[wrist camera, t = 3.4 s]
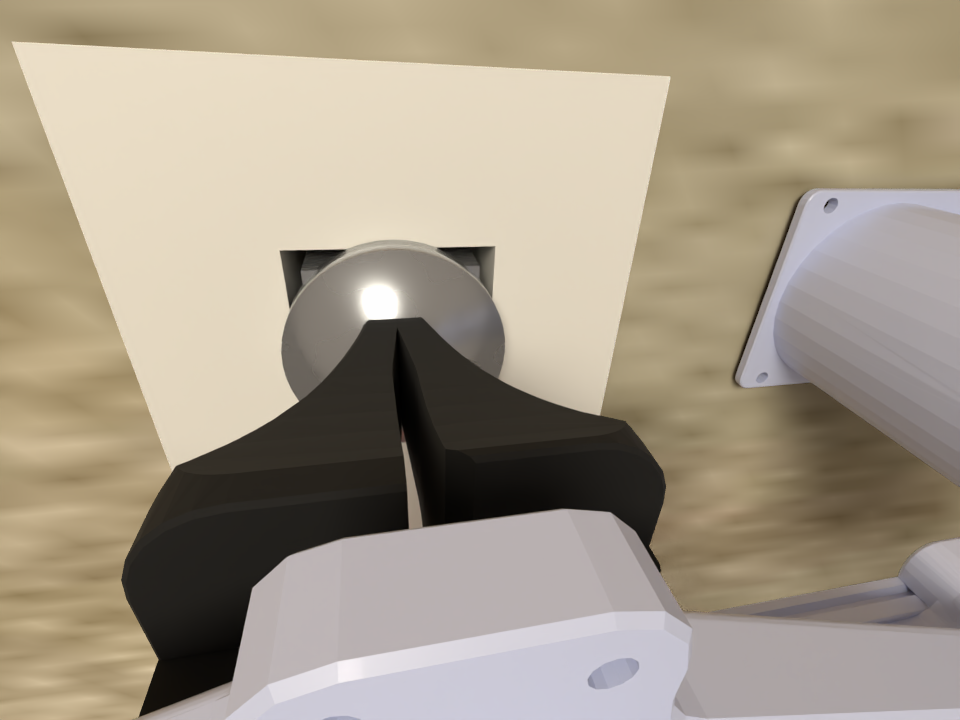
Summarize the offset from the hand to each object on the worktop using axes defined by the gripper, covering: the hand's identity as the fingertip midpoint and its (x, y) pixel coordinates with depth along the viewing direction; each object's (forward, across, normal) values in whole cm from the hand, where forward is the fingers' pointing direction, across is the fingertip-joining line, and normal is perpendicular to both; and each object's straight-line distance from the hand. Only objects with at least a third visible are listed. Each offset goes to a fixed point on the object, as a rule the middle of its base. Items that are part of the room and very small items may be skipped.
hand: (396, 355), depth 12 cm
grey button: (+5, 0, 0) cm, 5 cm away
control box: (+5, 0, +6) cm, 8 cm away
